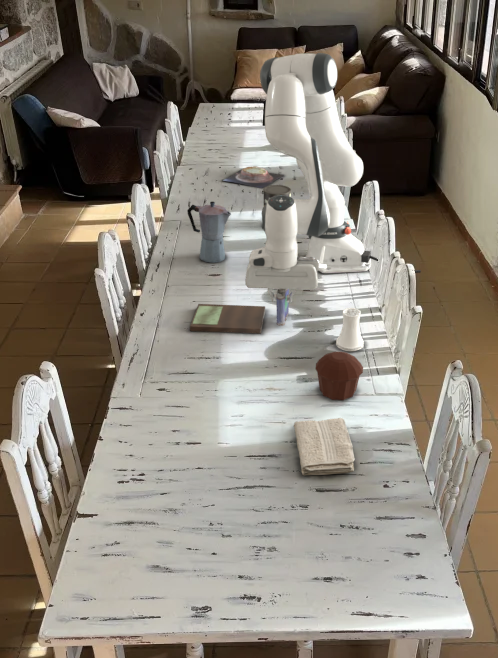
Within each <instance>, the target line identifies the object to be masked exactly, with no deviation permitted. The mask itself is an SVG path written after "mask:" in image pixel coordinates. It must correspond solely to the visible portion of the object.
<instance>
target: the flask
mask: <svg viewBox="0 0 498 658" xmlns="http://www.w3.org/2000/svg"><path fill="white" fill-rule="evenodd" d="M276 294H277V295H276V299H277V300H276V301H277V302H276V320H275V321H276V325H277V326H278V327H283V326H285V325H286V321H287V318H288V315H289V313H290V312H289V311H290V310H289V309H290V308H289V306H290V305H289V304H290V302H287V295H290V289H277V291H276Z"/></svg>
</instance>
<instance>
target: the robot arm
mask: <svg viewBox="0 0 498 658" xmlns="http://www.w3.org/2000/svg"><path fill="white" fill-rule="evenodd" d="M259 81H260V86H261V89H262V90H263V92H264V94H266V99H265V106H264V107H265V108H264V130H265V131H264V132H265V138H266V139H267V142H268V143H269V145H270V146H271V147H273V148H274V149H275V150H277V151H278V152H280V153H282V154H284V155H287V156H290V157H292V158H294V159H295V161H296V165H297V166H298V168H299V170H300V171H301V173H302V175H303V177H304V179H305V183H306V186H307V189H308V190H307V191H308V195H309V198H307V199H301V198H293V197H292V196H291V197H290V196H287V195H276V196H273V197H271V198H270V199H269V200H268V201H267V204H266V205H265V206H264V205H263V207H262V209H261V228H262V230H263V231H264V233H265V237H266V240H265V243H264V244H265V245H264V246H262V247H260V248H255V249H253V250H252V251H251V252H250V253H249V258H248V259H249V260H248V263H247V267H246V272H245V278H244V279H245V280H244V281H245V286H246V287H247V288H248V289H267V293H268V295H269V296H270V298H271V303H277V301H276V300H277V299H276V295H277V293H274V291H273V290H278V289H289V290H290V292H289V295H287V302H289V303H292V302H293V297H294V296H295V294H296V293H297V292H296V290H305V291H306V290H307V291H314V290H316V289H317V288H318V282H319V280H318V272H320V273H322V274H337V273H340V274H341V273H358V272H361V273H362V272H367V271H369V270H370V268H372V267H371V266H372V261H373V260H374V261H375V262H377V261H378V259H379V258H378V257H376V256H373V255H372V251H371V250H365V246H364V244H363V242H362V240H360V239H358V238H357V237H356V236H354V235H353V234H352V228H351V225H350V224H349V221H345V207H346V206H345V205H346V200H345V197H344V195H343V194H342V192H341V191H340V188H339V187H346V188H347V187H353V186H355V185H357V184H358V183H359V181H360V180H361V178H362V177H363V175H364V162H363V160H362V158H361V157H360V156H359V155H358V154H357V153H356V151H354V149H353V147H352V146H351V144H350V142H349V140H348V138H347V137H346V134H345V132H344V130H343V127H342V124H341V122H340V117H339V113H338V107H337V102H336V97H335V93H334V90H333V89H334V88H335V87H336V85H337V81H338V67H337V63H336V60H335V59H334V58H333V57H332V55H331V54H329V53H326V52H325V53H324V52H316V53H295V54H289V55H284V56H279V57H278V56H274V57H272V58H268V59H267V60H265V61H264V62H263V64H262V66H261V67H260V72H259ZM300 235H301V236H308V244H307V249H306V254H305V256H298V252H299V251H298V250H299V249H298V246H299V245H298V240H297V236H300ZM377 258H378V259H377ZM365 264H366V265H365ZM413 270H414V269H413ZM414 271H415V273H414V274H418V273H419V274H421V272H422V270H421V269H418V270H417V269H415V270H414Z"/></svg>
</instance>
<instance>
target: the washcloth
mask: <svg viewBox="0 0 498 658" xmlns="http://www.w3.org/2000/svg"><path fill="white" fill-rule="evenodd" d="M293 427H294V433H295V438H296V447H297V451H298V456H299V463H300V469H301V471H300V472H301V474H302V476H312V475H314V476H315V475H317V476H323V475H337V474H349V473H353V472H354V470H355V466H354V462H355V459H356V458H355V454H354V446H353V443H352V440H351V437H350V432H349V430H348V427H347V423H346V420H345V419H344V418H343V417H338V418H337V417H336V418H335V417H334V418H328V419H324V420H323V419H322V420H318V421H317V420H310V419H309V420H300V421H295V422H294V423H293Z"/></svg>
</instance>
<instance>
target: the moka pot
mask: <svg viewBox="0 0 498 658" xmlns="http://www.w3.org/2000/svg"><path fill="white" fill-rule="evenodd" d="M186 211H187V216H188V218H189V221H190V224H191V227H192V230H193V232H196V233H201V242H200V249H199V259H200V260H201V261H203V262H206V263H213V264H215V263H221V262H223V261H224V260H225V259H226V252H225V244H224V233H225V227H226V224H227V223H228V220H229V218H230V217H231V216H232V213H231V212H230V211H229V210H227V208H226V207H225V206H222V205H219V204H216V201H210V202H209V204H205V205H203V206H201V205H196V204H191V205H190V206H189V207H188V209H187V210H186ZM192 211H195V212H196V213H198V216H199V217H198V218H199V224H200V229H198V228H197V227H196V225H195V220H194V217H193V214H192Z"/></svg>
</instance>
